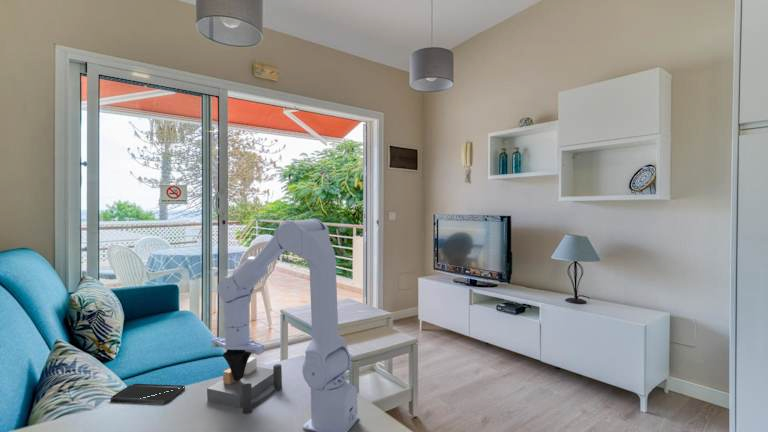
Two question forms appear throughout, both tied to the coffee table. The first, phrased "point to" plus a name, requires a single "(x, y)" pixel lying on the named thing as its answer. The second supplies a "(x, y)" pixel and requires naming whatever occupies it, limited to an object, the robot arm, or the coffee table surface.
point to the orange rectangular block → (228, 377)
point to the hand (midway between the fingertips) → (238, 378)
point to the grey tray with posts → (233, 392)
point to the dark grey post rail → (277, 387)
